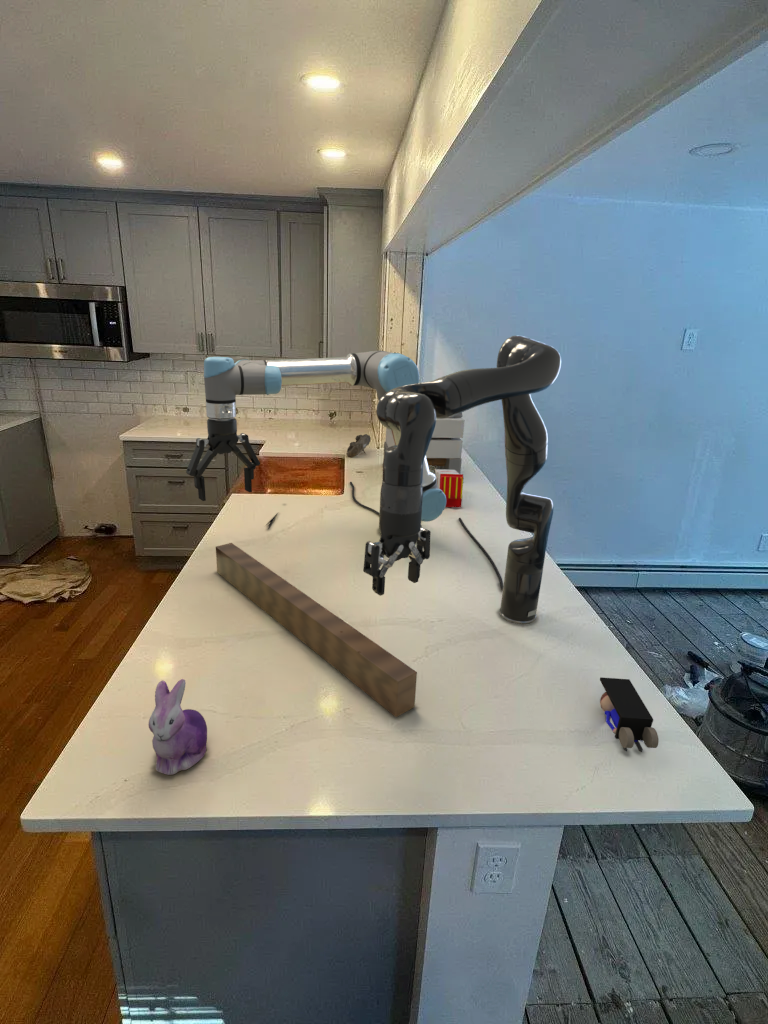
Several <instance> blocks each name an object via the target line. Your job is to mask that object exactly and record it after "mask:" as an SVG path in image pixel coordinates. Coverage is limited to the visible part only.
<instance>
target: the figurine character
mask: <svg viewBox="0 0 768 1024" xmlns="http://www.w3.org/2000/svg"><path fill="white" fill-rule="evenodd" d="M599 682H600V683H601V685H602V687H603V689H604V691H605V692H603V693H602V694H601V696H600V699H599V705H600V708H601V709H602V711H603V713H604V715H605V716H606V717H605V723H606V724H607V726H608V728H610V729H611V731H612V732H613V734H614V738H615V740H618V741H619V744H620V745H621V747H622V750H623V751H625V753H627V752H628V749H633V748H634V745H635V747H636V749H637V750H638V751H639V752H640V753H643V751H644V749H643V746H642V745H641V743H640V741H642V742H643V744H644V746H645V747H646V748H649V749H657V748H658V747H659V742H660V741H659V734H658V732H657V730H656V728H654V727H653V722H654V717H653V716H652V715H651V713H650V711H649V710H648V707H647V706H646V704H645V703H644V701H643V700H642V698H641V696H640V695H639V693H638V691H637V689H636V688H635V686H634V685H633V683H632V681H631V679H630V678H628V679H627V678H615V677H601V676H600V677H599Z"/></svg>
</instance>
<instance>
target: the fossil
mask: <svg viewBox="0 0 768 1024" xmlns="http://www.w3.org/2000/svg"><path fill="white" fill-rule="evenodd" d="M354 440H355V441H351V442H350V443H349V446H348V447H347V450H346V456H347V457H348V458H352V457H355V456H357V455H359V454H360V453H361V452H363V453H364V454H366V452H365V449H366V448H367V446H369V445H370V443H371V440H372V439H371V436H370V434H367V433H365V434H358V435H356V436H355V438H354Z"/></svg>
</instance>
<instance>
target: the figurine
mask: <svg viewBox="0 0 768 1024" xmlns="http://www.w3.org/2000/svg"><path fill="white" fill-rule="evenodd" d="M186 683H187V682H186V680H185V679H184V678H180V679H179V680H177V682H176V683H175V684H174V686H173V687H172V689H171V690H170V689H169V685H168V684H167V682H166V681H165V680H162V679H161V680H160V681H159V682H158V683H157V684H156V688H155V691H154V704H155V706H154V708H153V710H152V712H151V715H150V717H149V720H148V729H149V730H150V732H151V733H152V734H153V737H152V740H151V741H152V748H153V750H154V752H155V755H156V763H155V770H156V771H157V772H158V773H161V774H163V775H164V774H165V775H169V776H171V775H175V774H177V773H178V772H180V771H186V770H188V769H190V768H192V767H193V766H195V765H196V764H197V763H198V762H200V760H202V759H203V758H204V757H205V755H206V752H207V741H208V725H207V722H206V719H205V718H204V716H203V714H202V713H201V712H199V711H198V710H196V709H192V708H187V709H183V708H182V705H181V704H182V700H183V697H184V694H185V690H186Z"/></svg>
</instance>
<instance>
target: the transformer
mask: <svg viewBox="0 0 768 1024" xmlns="http://www.w3.org/2000/svg"><path fill="white" fill-rule="evenodd" d="M464 429H465V419H464V418H463V412H462V413H459V414H457V415H454V416H452V417H449V418H445V419H437V418H436V425H435V429H434V432H433V435H432V438H431V441H430V444H429V447H428V450H427V453H426V458H427V463H428V467H436V469H447V470H456V471H457V472H458V473H459V474H462V473H461V472H462V461H463V460H462V453H463V442H464V441H463V440H462V439H463V438H464V431H465V430H464ZM391 446H395V443H394V439H393V435H392V431H391V430H390V429H388V428H386V427H385V438H384V442H383V454H384V453H385V451H386V449H387V448H389V447H391Z"/></svg>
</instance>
